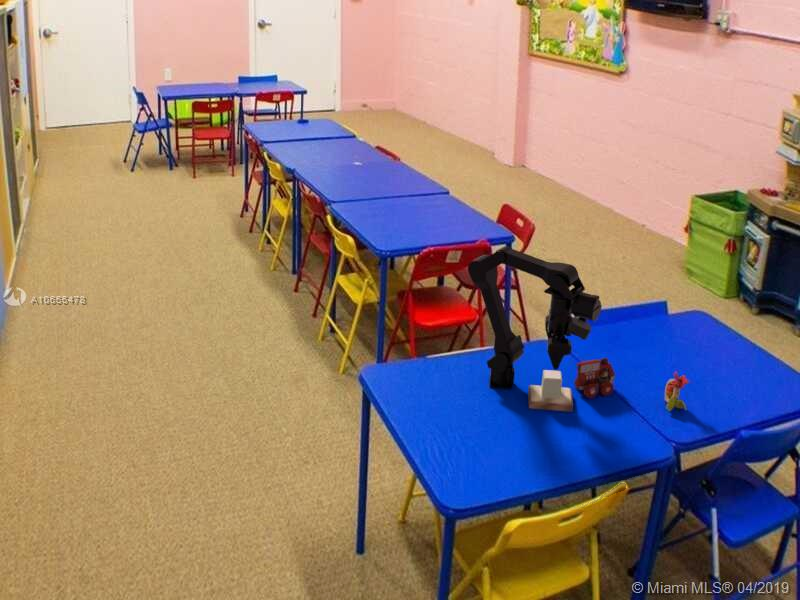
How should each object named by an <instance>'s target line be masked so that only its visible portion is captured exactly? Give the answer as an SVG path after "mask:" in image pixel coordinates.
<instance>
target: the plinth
mask: <svg viewBox="0 0 800 600" xmlns="http://www.w3.org/2000/svg"><path fill="white" fill-rule="evenodd" d="M541 386H542V385H536V384H530V385H528V389H527V390H528V391H527V392H528V409H534V410H535V409H536V410H549V411H559V412H562V411H563V412H572V413H573V411H574V410H573V409H574V403H573V393H572V389H571V388H570V387H564V386H562V387H561V395H560V399H552V398H542V392H541Z"/></svg>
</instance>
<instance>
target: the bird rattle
mask: <svg viewBox="0 0 800 600" xmlns="http://www.w3.org/2000/svg"><path fill="white" fill-rule="evenodd" d="M673 376H674V378H670V379H669V380H668V381H667V382H666V385H665V387H664V388H665V389H664V401H665V402H666V403H667V404H666V407H665V409H666V410H667V411H668V412H671V411H672V409H674V408H677V409H684V410H685V411H687V407H686V404H685V403H684V401H683V400H681V399H679V398H680V392H681V389H682V390H683V389H684V386H685V385H687V384H688V383H690V382H691V381H690V380H689V379H687V377H686V375H684V374H683V375H681V376H680V377H679V375H678V372H677V371H675V372H674V373H673Z"/></svg>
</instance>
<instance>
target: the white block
mask: <svg viewBox="0 0 800 600" xmlns="http://www.w3.org/2000/svg"><path fill="white" fill-rule="evenodd" d="M562 385H563V376H562V371H561V370H552V369H551V370H550V369H549V370H548V369H543V370H542V379H541V385H540V386H541V392H542V398H552V399H560V395H561V387H563V386H562Z"/></svg>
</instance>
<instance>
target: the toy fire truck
mask: <svg viewBox="0 0 800 600" xmlns="http://www.w3.org/2000/svg"><path fill="white" fill-rule="evenodd" d="M576 371H577V376H576V378H575V379H574V382H573V383H574V386H575V387H576V389H577V390H578V391H583V394H584V396H585V397H586V398H589V399H593V398H595V397H596V396H597V395H598V393H599V392H600V394H602V395H603V396H610V395H611V394H612V393H613V392H614V389H615V386H614V381H615V377H616V376H615V372H614V369H613V366H612V363H610V362H609V360H608V358H607V357H602V358H600V359H590V360H583V361H578V363H577V366H576Z"/></svg>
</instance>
